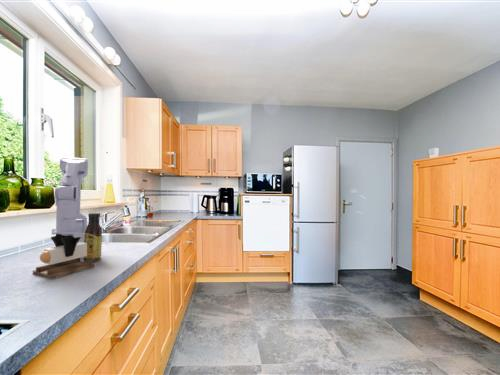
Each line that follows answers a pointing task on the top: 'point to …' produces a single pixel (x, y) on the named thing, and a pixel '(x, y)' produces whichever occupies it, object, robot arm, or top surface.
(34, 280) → the top surface
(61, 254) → the white post with dome
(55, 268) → the jig
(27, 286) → the top surface
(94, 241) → the sauce bottle
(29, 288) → the top surface
